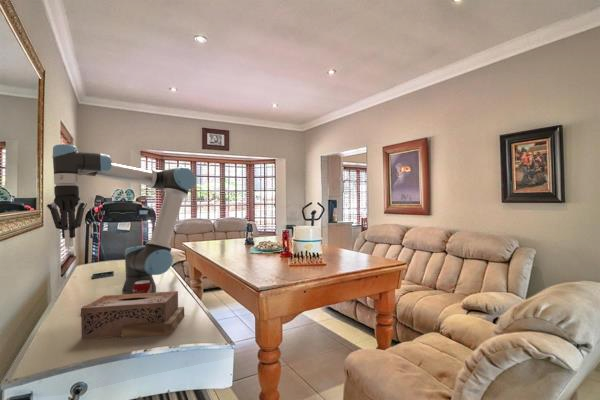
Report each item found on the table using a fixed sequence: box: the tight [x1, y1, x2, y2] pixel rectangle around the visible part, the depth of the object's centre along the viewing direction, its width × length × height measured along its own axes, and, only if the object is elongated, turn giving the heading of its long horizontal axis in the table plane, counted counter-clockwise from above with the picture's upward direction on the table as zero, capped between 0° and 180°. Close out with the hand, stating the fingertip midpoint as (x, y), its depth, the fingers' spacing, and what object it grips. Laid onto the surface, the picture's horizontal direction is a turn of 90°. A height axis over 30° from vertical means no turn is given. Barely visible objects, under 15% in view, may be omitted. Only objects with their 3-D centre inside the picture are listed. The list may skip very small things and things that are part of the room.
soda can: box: [133, 280, 152, 294], centre depth 123 cm, size 7×7×12 cm
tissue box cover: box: [80, 290, 179, 340], centre depth 107 cm, size 26×14×10 cm, turn 97°
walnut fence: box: [121, 306, 185, 339], centre depth 107 cm, size 17×15×4 cm
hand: (69, 246), depth 118 cm, fingers closed
